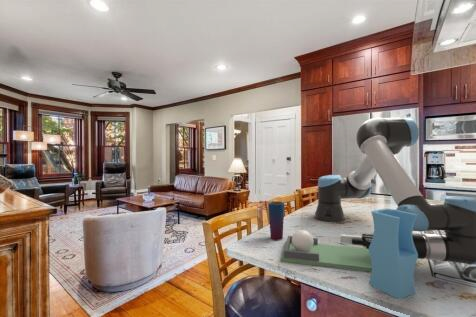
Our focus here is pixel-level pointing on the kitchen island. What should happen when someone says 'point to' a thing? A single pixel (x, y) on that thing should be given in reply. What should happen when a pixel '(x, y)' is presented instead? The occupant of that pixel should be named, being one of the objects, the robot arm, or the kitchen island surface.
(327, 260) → the mat
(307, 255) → the grey u-shaped wall
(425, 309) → the kitchen island surface
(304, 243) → the ball
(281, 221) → the cup
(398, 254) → the vase
